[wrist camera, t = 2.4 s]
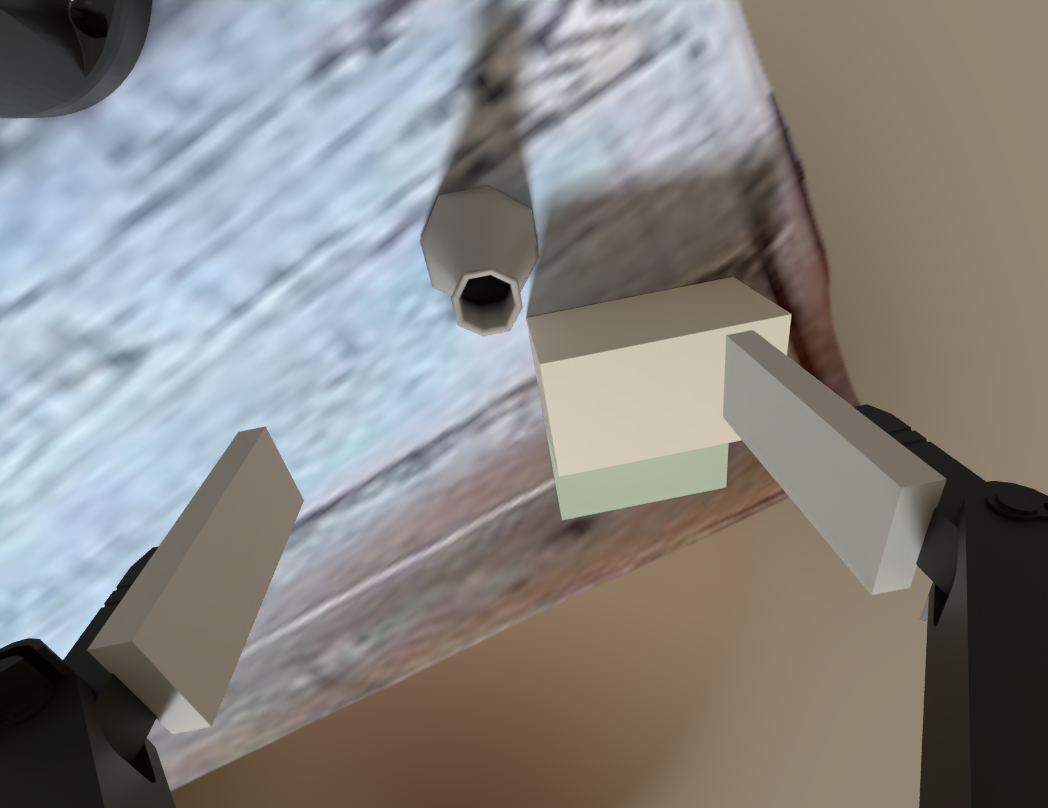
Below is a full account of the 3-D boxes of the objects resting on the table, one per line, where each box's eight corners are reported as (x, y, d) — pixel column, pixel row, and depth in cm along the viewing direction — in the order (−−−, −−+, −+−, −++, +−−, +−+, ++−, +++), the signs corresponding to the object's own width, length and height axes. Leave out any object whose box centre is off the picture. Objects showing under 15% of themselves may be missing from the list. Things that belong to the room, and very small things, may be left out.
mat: (543, 417, 38) (544, 421, 37) (727, 380, 38) (731, 384, 37) (560, 515, 43) (562, 520, 42) (722, 482, 43) (726, 487, 42)
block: (525, 318, 34) (539, 364, 28) (732, 276, 34) (791, 314, 28) (543, 417, 38) (558, 476, 32) (727, 380, 38) (777, 433, 32)
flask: (417, 297, 32) (401, 368, 24) (424, 175, 29) (407, 205, 20) (528, 310, 34) (551, 382, 25) (548, 194, 30) (583, 231, 21)
